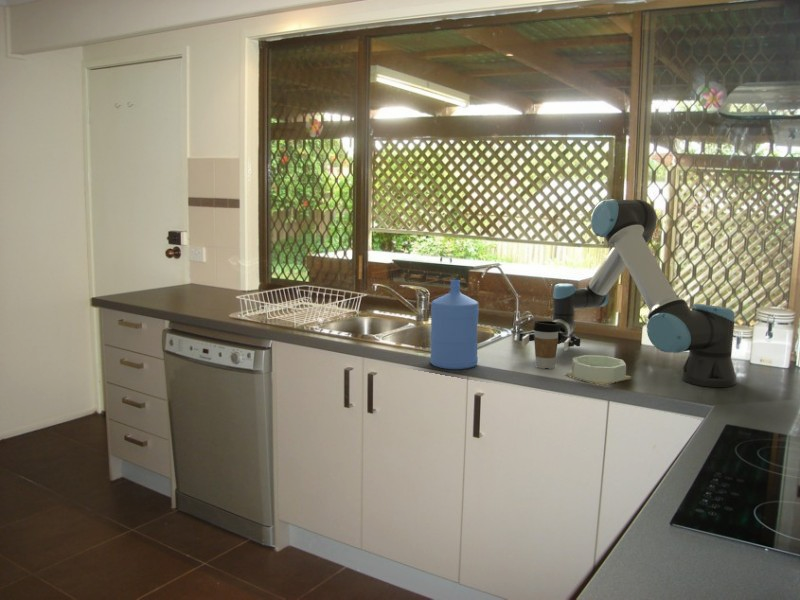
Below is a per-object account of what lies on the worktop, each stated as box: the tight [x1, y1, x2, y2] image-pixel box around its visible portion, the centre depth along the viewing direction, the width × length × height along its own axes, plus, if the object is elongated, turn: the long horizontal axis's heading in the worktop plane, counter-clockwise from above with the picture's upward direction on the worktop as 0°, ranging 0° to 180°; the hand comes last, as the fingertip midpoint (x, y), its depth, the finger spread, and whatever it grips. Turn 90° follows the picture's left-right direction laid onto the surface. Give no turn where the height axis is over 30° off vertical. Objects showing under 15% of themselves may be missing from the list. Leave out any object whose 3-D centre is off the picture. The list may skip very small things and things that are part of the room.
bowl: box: [565, 354, 632, 387], centre depth 210 cm, size 15×15×5 cm
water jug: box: [429, 279, 480, 370], centre depth 223 cm, size 16×16×28 cm
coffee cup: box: [532, 320, 560, 369], centre depth 221 cm, size 8×8×15 cm
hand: (543, 344), depth 219 cm, fingers open, 13 cm apart
